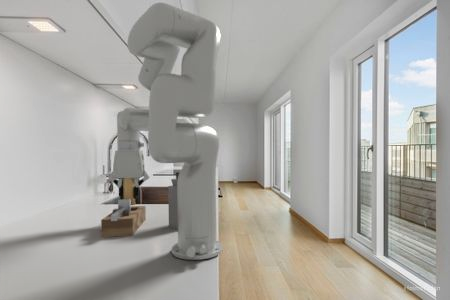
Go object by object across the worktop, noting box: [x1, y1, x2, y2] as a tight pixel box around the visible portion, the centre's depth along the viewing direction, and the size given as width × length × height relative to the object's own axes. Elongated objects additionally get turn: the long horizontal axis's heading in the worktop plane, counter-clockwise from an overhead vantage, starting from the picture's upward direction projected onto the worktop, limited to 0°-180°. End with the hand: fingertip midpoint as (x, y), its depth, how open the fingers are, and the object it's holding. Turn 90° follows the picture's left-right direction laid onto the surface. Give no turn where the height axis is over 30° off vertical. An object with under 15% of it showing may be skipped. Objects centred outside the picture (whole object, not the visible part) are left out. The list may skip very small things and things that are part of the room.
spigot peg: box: [123, 178, 136, 206], centre depth 99 cm, size 4×4×10 cm
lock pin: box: [111, 198, 132, 221], centre depth 87 cm, size 12×4×4 cm, turn 5°
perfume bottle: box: [167, 171, 180, 229], centre depth 94 cm, size 7×7×18 cm
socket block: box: [100, 205, 147, 238], centre depth 93 cm, size 20×9×7 cm, turn 5°
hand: (129, 197), depth 99 cm, fingers closed on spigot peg, 4 cm apart
